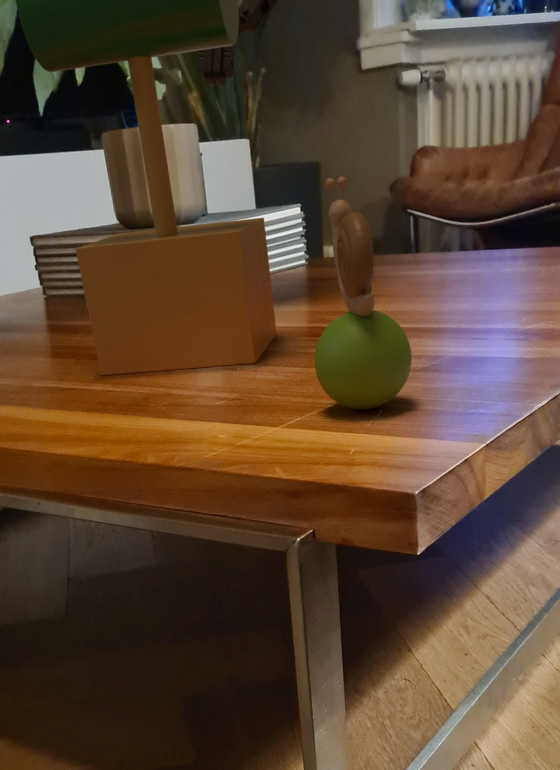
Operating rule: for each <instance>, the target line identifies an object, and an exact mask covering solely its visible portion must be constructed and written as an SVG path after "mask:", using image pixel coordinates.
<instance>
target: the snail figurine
mask: <svg viewBox="0 0 560 770" xmlns="http://www.w3.org/2000/svg"><path fill="white" fill-rule="evenodd" d="M336 184H337V186H338V187H339V188H341V196H342V199H337V200H334V201H333V192H332V191H333V190H332V189H334V188H335V187H336ZM347 185H348V180H347V178H346V177H345V176H340V177H338V179H337V180H335V179H334V178H332V177H329V178H327V179H326V180H325V187H326V188H327V189H329V194H330V195H329V196H330V207H329V209H328V218H329V221H330V224H331V235H332V237H331V240H332V252H333V260H334V265H335V270H336V276H337V281H338V287H339V292H340V295H341V296H342V299H343V301H344V303H345V306H346V308H347V310H348V312H345V313H342V314H341V315H339V316H338V317H336V318H335V319H334V320H332V321H331V322H330V323H329V324H328V325H327V326H326V327H325V328H324V330H323V332H322V333H321V335H320V337H319V339H318V341H317V344H316V348H315V351H314V370H315V374H316V378H317V380H318V382H319V385H320V386H321V388H322V390H323V391H324V392H325V393H326V395H328V397H329V398H330V399H332V401H334V402H336V403H337V404H339V405H340V406H342V407H345V408H348V409H352V410H358V411H359V410H361V411H362V410H365V411H366V410H372V409H376V408H379V407H381V406H383V405H385V404H387V403H389V402H390V401H391V400H393V399H394V398H395V397H396V396H397V395H398V394H399V393H400V392H401V390H402V389H403V388H404V386H405V384H406V382H407V380H408V378H409V374H410V373H411V368H412V360H413V359H412V349H411V348H412V347H411V343H410V341H409V339H408V335H407V334H406V332H405V330H404V329H403V328H402V327H401V325H400V324H399V323H398V322H397V321H396V320H395V319H394V318H392V316H389V315H388V314H386V313H384V312H381V311H378V310H374V308H375V298H374V296H373V295H372V288H373V287H372V282H373V276H374V266H375V263H374V262H375V258H374V257H375V256H374V243H373V236H372V231H371V228H370V224H369V222H368V220H367V217H365V216H364V215H363V214H362V213H360V212H359V211H353V212H352V207H351V206H350V204H349V202H347V201H346V200H345V195H344V187H346V186H347Z"/></svg>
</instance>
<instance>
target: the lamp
mask: <svg viewBox="0 0 560 770" xmlns="http://www.w3.org/2000/svg"><path fill="white" fill-rule="evenodd" d="M15 5H16V8H17V14H18V18H19V21H20V25H21V28H22V30H23V34H24V37H25V39H26V41H27V45H28V47H29V49H30V52H31V53H32V55H33V57H34V58H35V60H36V61H37V63H38V64H39V66H40V67H41V68H42V69H43V70H44V71H46V72H49V73H55V72H56V73H57V72H62V71H69V70H75V69H81V68H89V67H94V66H95V67H96V66H102V65H103V66H104V65H109V64H117V63H123V62H127V65H128V71H129V76H130V77H129V78H130V83H131V84H130V85H131V89H132V96H133V101H134V109H135V113H136V122H137V126H138V132H139V140H140V145H141V151H142V156H143V157H142V158H143V165H144V170H145V176H146V182H147V189H148V194H149V202H150V206H151V207H150V208H151V213H152V219H153V226H154V229H147V230H138V231H130V232H128V231H127V232H120V233H116V234H113V235H111V236H107V237H105V238H102V239H99V240H96V241H93V242H90V243H87V244H85V245H82V246H79V247H76V248H75V254H76V258H77V263H78V267H79V268H78V269H79V273H80V278H81V283H82V289H83V294H84V298H85V303H86V308H87V314H88V318H89V323H90V328H91V333H92V338H93V343H94V348H95V353H96V358H97V363H98V368H99V373H100V376H110V375H111V376H112V375H113V376H114V375H124V374H125V375H126V374H134V373H135V374H136V373H148V372H149V373H150V372H159V371H160V372H161V371H174V370H186V369H198V368H199V369H200V368H213V367H223V366H224V367H225V366H235V365H249V364H256V363H257V362H258V360H259V359H260V358H261V356H262V355H263V354H264V352H265V351H266V350H267V349H268V347H270V345H271V343H272V342H273V340H274V339H275V338H276V337H277V335H278V334H277V326H276V316H275V307H274V298H273V290H272V280H271V271H270V260H269V252H268V251H269V250H268V242H267V234H266V226H265V218H264V217H257V218H256V217H255V218H248V219H238V220H229V221H221V222H220V221H219V222H210V223H203V224H192V225H185V226H184V225H183V226H178V225H177V218H176V212H175V211H176V210H175V205H174V198H173V192H172V185H171V178H170V172H169V165H168V159H167V158H168V157H167V151H166V146H165V138H164V131H163V125H162V119H161V111H160V105H159V98H158V91H157V85H156V79H155V71H154V66H153V65H154V64H153V58H157V57H164V56H170V55H177V54H178V55H179V54H185V53H189V52H190V53H191V52H198V50H205V49H212V48H219V47H226V46H232V45H235V46H236V44H237V42H238V37H239V35H238V30H239V10H238V0H15Z"/></svg>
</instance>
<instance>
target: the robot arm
mask: <svg viewBox="0 0 560 770" xmlns="http://www.w3.org/2000/svg"><path fill="white" fill-rule="evenodd" d="M278 2H279V0H238V10H239V30H238V36H239V35H241V34H242V33H245V32H249V33H253V32H255V31H256V30H258V28H259V26H260V25H261V24H262V23H263V21H264V20H265V19H266V17H267V16H268V15H269V13H270V12H271V10H273V8H274V6H276V4H277V3H278ZM235 55H236V44H235V45H232V46H226V47H219V48H212V49H205V50H198V51H197V68H198V71H199V73H200V74H201V77H202V78H203V79H204V80H205V81H206V84H207V85H208V86H209V87H210V86H213V87H215V86H217V87H219V86H221V87H222V86H223V87H224V86H226V85H227V79H232V77H233V74H234V70H235Z"/></svg>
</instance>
